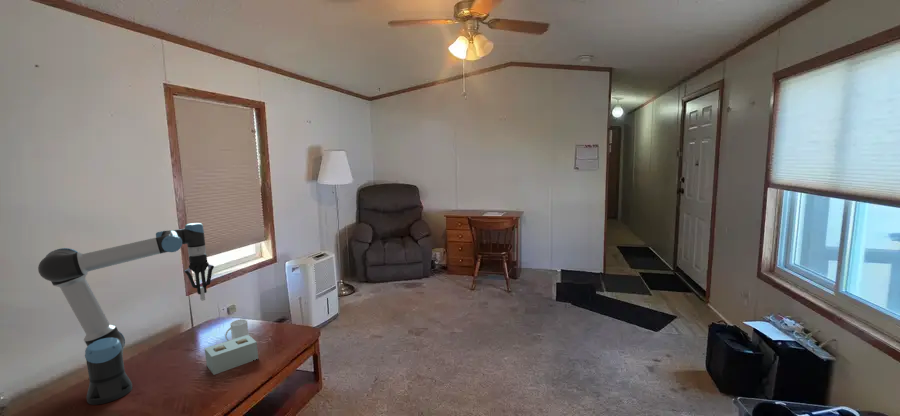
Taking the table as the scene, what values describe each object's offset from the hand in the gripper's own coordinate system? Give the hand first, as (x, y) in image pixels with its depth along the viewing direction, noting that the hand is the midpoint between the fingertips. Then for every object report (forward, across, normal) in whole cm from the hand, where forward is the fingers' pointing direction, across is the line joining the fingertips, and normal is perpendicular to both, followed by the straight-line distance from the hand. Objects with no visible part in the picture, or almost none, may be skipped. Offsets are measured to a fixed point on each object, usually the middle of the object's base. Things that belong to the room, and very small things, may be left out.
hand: (202, 299), depth 205 cm
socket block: (+29, +6, -18) cm, 35 cm away
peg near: (+29, +1, -18) cm, 34 cm away
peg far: (+29, +11, -18) cm, 36 cm away
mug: (+30, +14, +1) cm, 33 cm away
